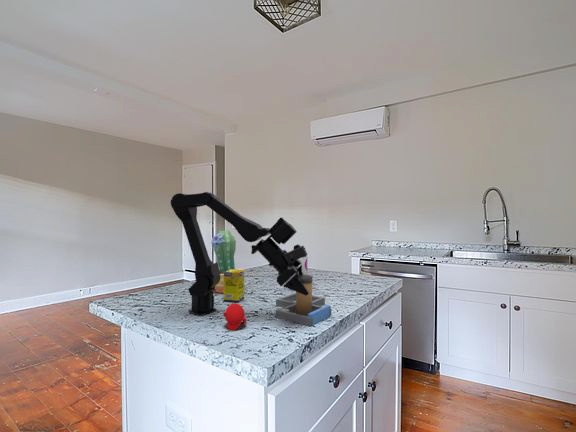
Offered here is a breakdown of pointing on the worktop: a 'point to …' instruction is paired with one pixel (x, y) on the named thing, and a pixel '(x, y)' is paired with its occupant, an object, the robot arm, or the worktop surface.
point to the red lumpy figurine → (234, 316)
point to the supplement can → (303, 264)
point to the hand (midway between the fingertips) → (308, 290)
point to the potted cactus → (224, 254)
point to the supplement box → (233, 285)
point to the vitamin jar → (304, 296)
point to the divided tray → (311, 319)
